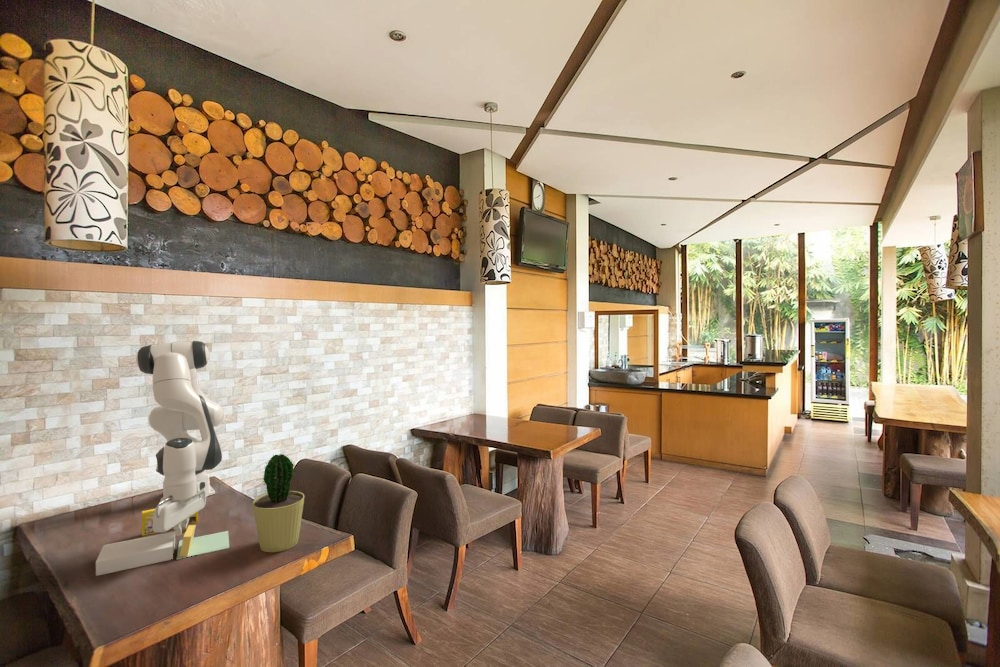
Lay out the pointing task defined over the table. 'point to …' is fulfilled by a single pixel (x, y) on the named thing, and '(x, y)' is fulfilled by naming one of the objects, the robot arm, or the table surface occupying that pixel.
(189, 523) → the candy box
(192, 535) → the block
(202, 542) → the mat
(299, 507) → the potted cactus
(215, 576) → the table surface
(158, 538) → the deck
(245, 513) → the table surface
